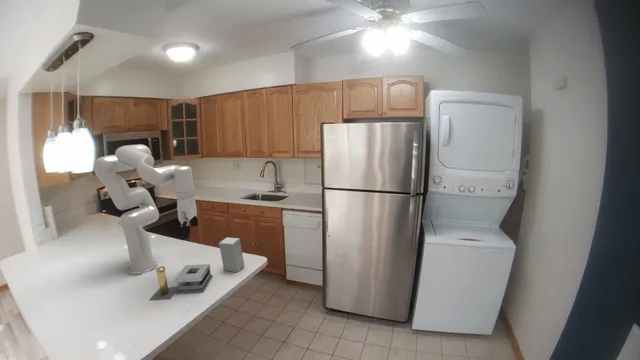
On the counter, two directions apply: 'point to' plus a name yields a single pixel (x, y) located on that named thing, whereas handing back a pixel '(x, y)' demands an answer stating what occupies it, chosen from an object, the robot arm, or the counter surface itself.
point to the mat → (163, 297)
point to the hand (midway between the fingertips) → (190, 230)
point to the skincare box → (231, 254)
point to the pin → (162, 280)
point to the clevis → (193, 279)
